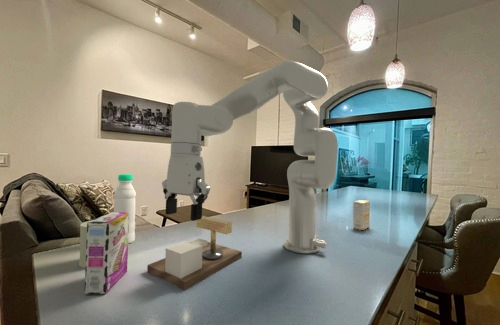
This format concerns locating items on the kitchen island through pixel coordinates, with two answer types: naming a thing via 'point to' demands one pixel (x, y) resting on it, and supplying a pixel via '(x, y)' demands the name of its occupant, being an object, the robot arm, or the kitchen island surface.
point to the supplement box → (361, 214)
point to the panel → (207, 270)
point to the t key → (214, 235)
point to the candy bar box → (106, 252)
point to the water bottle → (126, 202)
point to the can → (83, 244)
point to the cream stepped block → (184, 258)
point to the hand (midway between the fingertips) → (183, 216)
